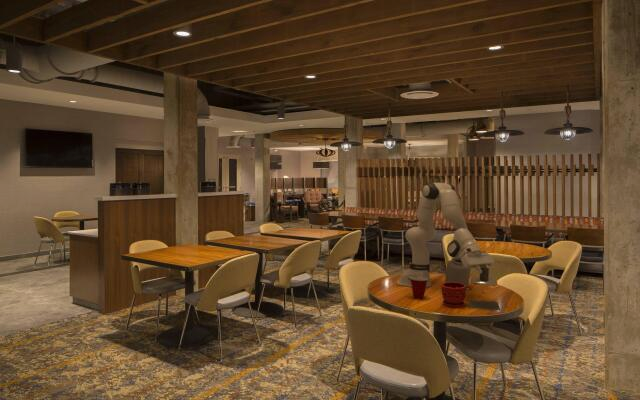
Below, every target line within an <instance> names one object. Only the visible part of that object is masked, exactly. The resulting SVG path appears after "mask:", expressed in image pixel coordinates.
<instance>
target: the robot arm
mask: <svg viewBox="0 0 640 400" xmlns="http://www.w3.org/2000/svg"><path fill="white" fill-rule="evenodd" d="M456 190H457V189H456V187H455V186H454V185H453V184H452V183H451V184H450V183H444V182H427V183H425V184H424V185H423V186H422V191H421V192H422V193H421V196H420V198H419V202H418V206H417V211H416V218H417V220H418V226H413V227H411V228H409V229H407V230H406V232H405V235H404V236H405V239H406V241H407V242H408V244H409V245H410V248H411V253H412V255H411V257H412V258H411V259H412V260H411V262H409V263H408V267H409V268H408V269H406V270H404V272H402V273H401V275H400V278H399V279H398V280H397V282H396V284H397V285H398V286H400V287H401V286H404V287H410V288H412V285H411V280H410V277H422V278H427V279H428V280H427V284H426V288H428V287H430V286H432V281H431V275H430V272H431V264H430V251H429V250H428V248H427V245H426V243H427V242H431V241H433V240H434V239H436V237H437V230H436V229H435V226H434V218H435V212H436V207H437V203H438V201H439V203H440V209H441V214H442V217H443V219H445V221H447V222H448V223H450V224H452V225H453V226H455V227H456V228H457V229H456V230H455V231H454V233H453V237H452V240H451V241H450V242H449V243H448V244H447V246H446V252H447V254H448V256H449V257H451V258H461V261H462V263H463V265H464V267H466V268H471V269H475V270H476V271H477V272H478V273H479V275H480V274H482V273H483V270H481V269H480V267H486V268H489V267H493V265H495V260H494V258H493V256H491V255H490V253H488V252H486V251H482V249H481V247H480V246H479V244H478V243H477V242H476V240H475V238H474V236H473V234H472V233H471V231H470V229H469V225H468V223H467V219H466V217H464V215H463V212H462V209H461V205H460V200H459V197H458V194H457V192H456ZM489 273H490V270H489Z"/></svg>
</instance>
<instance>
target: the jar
mask: <svg viewBox="0 0 640 400" xmlns="http://www.w3.org/2000/svg"><path fill="white" fill-rule="evenodd" d="M471 269H472V268H466V267H464V265H463V263H462V261H461V258H454V257H452V259H450V260H448V261H447V263H446V269H445V270H446V271H445V280H444V281H445V282H444V283H446V282H458V283H462V284H465V285H466V288H468V287H469V284H470V277H471V276H470V275H471ZM450 288H451V286H450ZM456 288H458V287H456Z"/></svg>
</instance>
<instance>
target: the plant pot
mask: <svg viewBox="0 0 640 400" xmlns="http://www.w3.org/2000/svg"><path fill="white" fill-rule="evenodd" d="M450 286H451V287H450ZM456 287H458V288H456ZM466 294H467V287H466V285H465V284H462V283H458V282H442V284H441V296H442V299H443V301H442V304H443V305H444V306H446V307H449V308H462V307H463V306H465V304H466V303H465V302H464V301H465V299H466V296H467V295H466Z"/></svg>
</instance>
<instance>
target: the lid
mask: <svg viewBox="0 0 640 400" xmlns="http://www.w3.org/2000/svg"><path fill="white" fill-rule="evenodd" d="M479 268H480V269H481V270H483V273H482V274H480V273H479V277H472V278H470V283H472V284H474V285H478V286H484V287H489V286H490V287H494V286H497V285H498V281H497V280H495V279H493V278H492V279H491V278H489V273H490V272H489V271H490V269H489V268H486V267H479Z"/></svg>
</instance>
